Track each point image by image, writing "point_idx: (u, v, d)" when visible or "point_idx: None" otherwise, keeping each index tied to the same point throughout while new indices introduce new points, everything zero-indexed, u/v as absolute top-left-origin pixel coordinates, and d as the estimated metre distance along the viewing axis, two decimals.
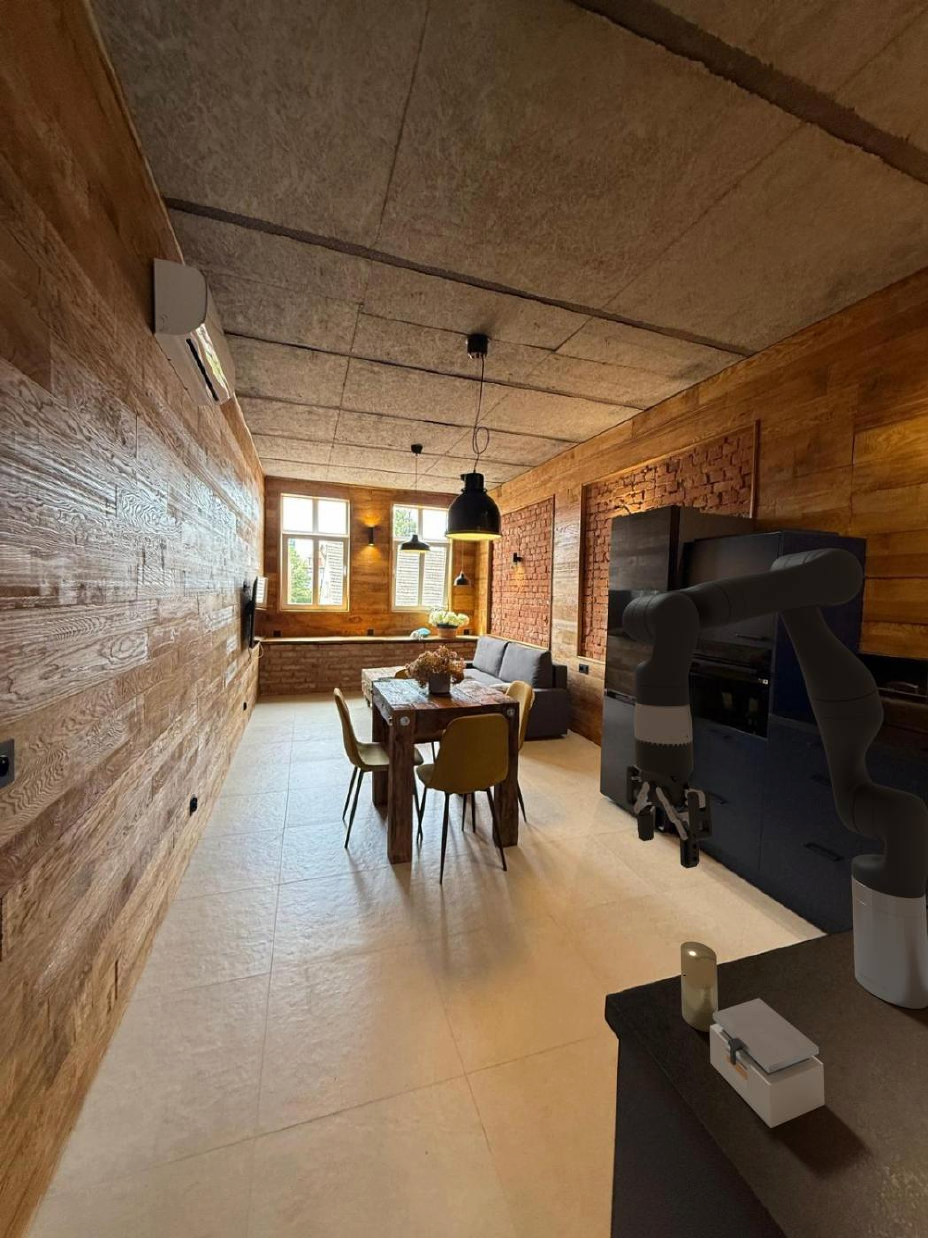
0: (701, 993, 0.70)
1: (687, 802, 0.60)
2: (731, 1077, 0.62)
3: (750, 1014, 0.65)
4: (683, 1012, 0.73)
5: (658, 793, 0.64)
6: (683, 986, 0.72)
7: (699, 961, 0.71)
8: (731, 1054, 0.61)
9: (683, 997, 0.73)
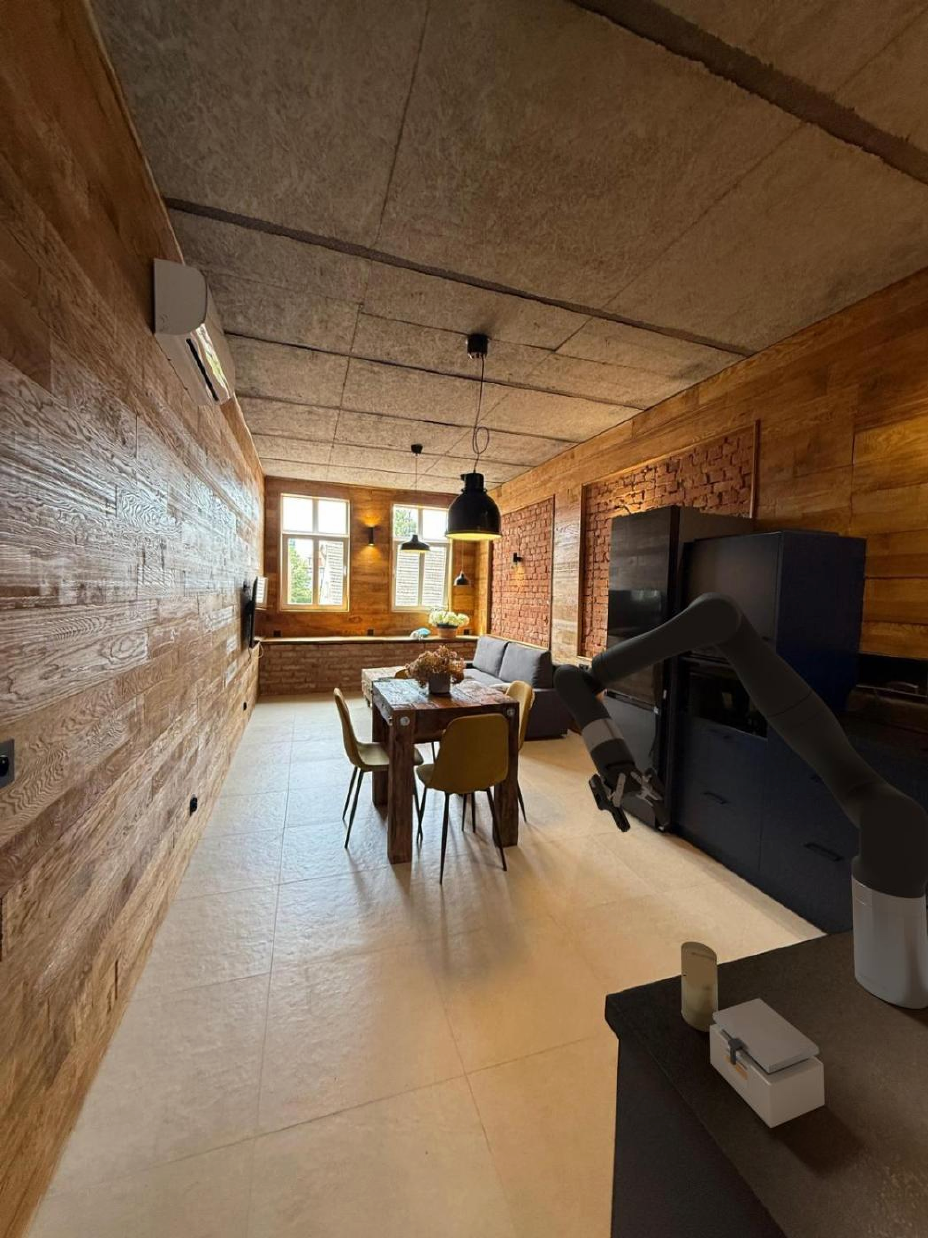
0: (701, 993, 0.70)
1: None
2: (731, 1077, 0.62)
3: (750, 1014, 0.65)
4: (683, 1012, 0.73)
5: None
6: (683, 986, 0.72)
7: (699, 961, 0.71)
8: (731, 1054, 0.61)
9: (683, 997, 0.73)
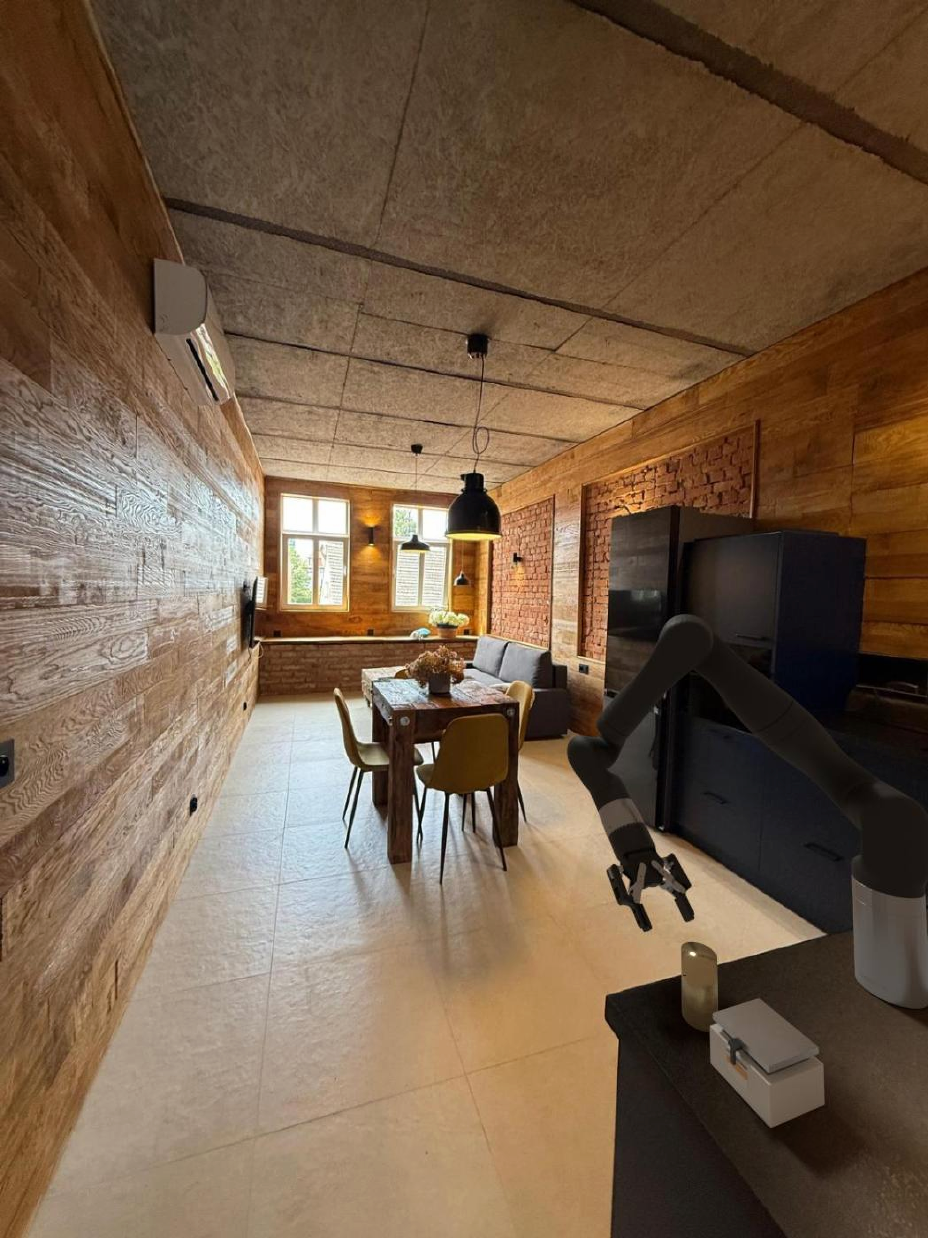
0: (702, 993, 0.70)
1: None
2: (731, 1077, 0.62)
3: (750, 1014, 0.65)
4: (683, 1012, 0.73)
5: None
6: (683, 986, 0.72)
7: (700, 962, 0.71)
8: (731, 1054, 0.61)
9: (683, 997, 0.72)
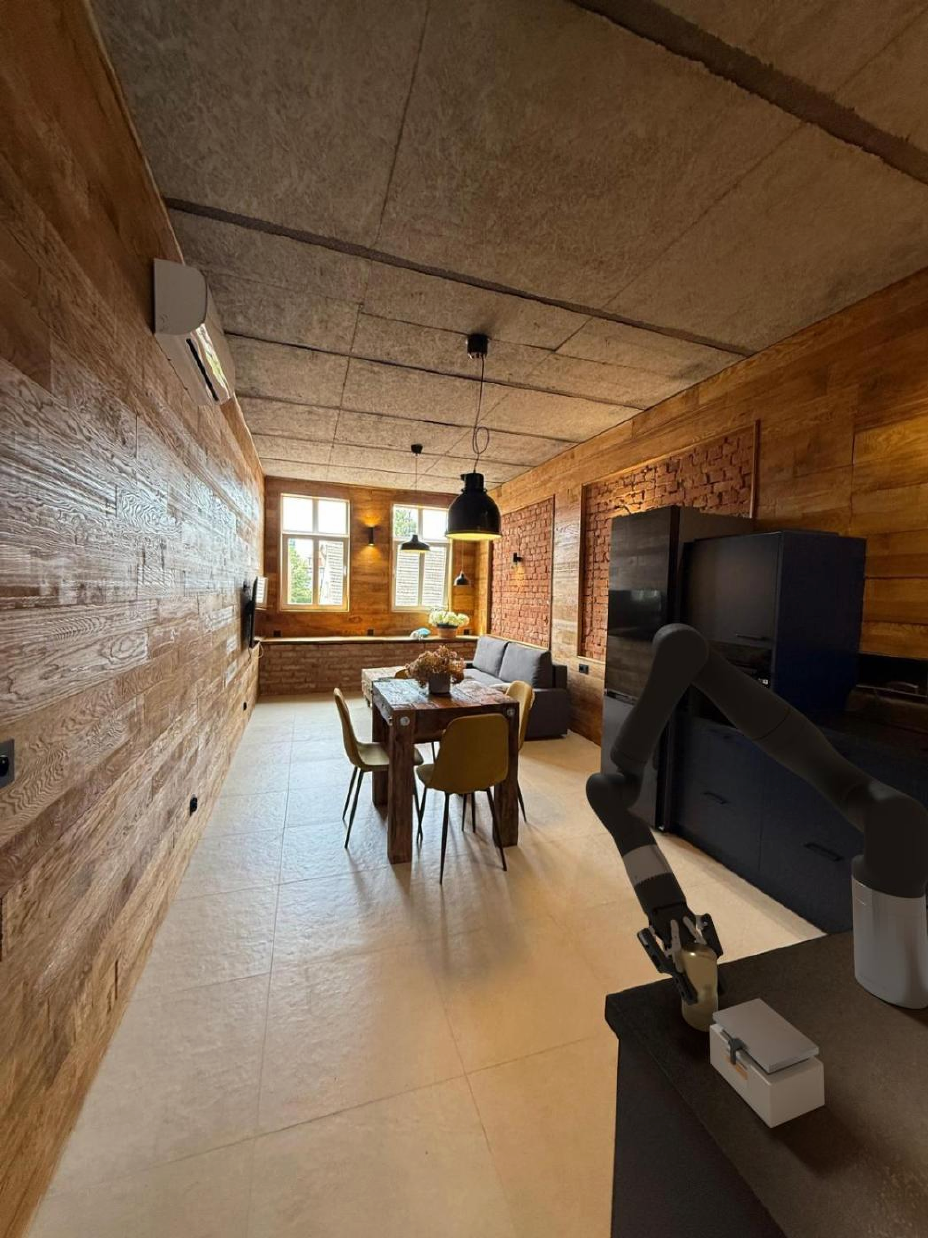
0: (702, 993, 0.70)
1: None
2: (731, 1077, 0.62)
3: (750, 1014, 0.65)
4: (683, 1012, 0.73)
5: None
6: None
7: (700, 962, 0.71)
8: (731, 1054, 0.61)
9: None
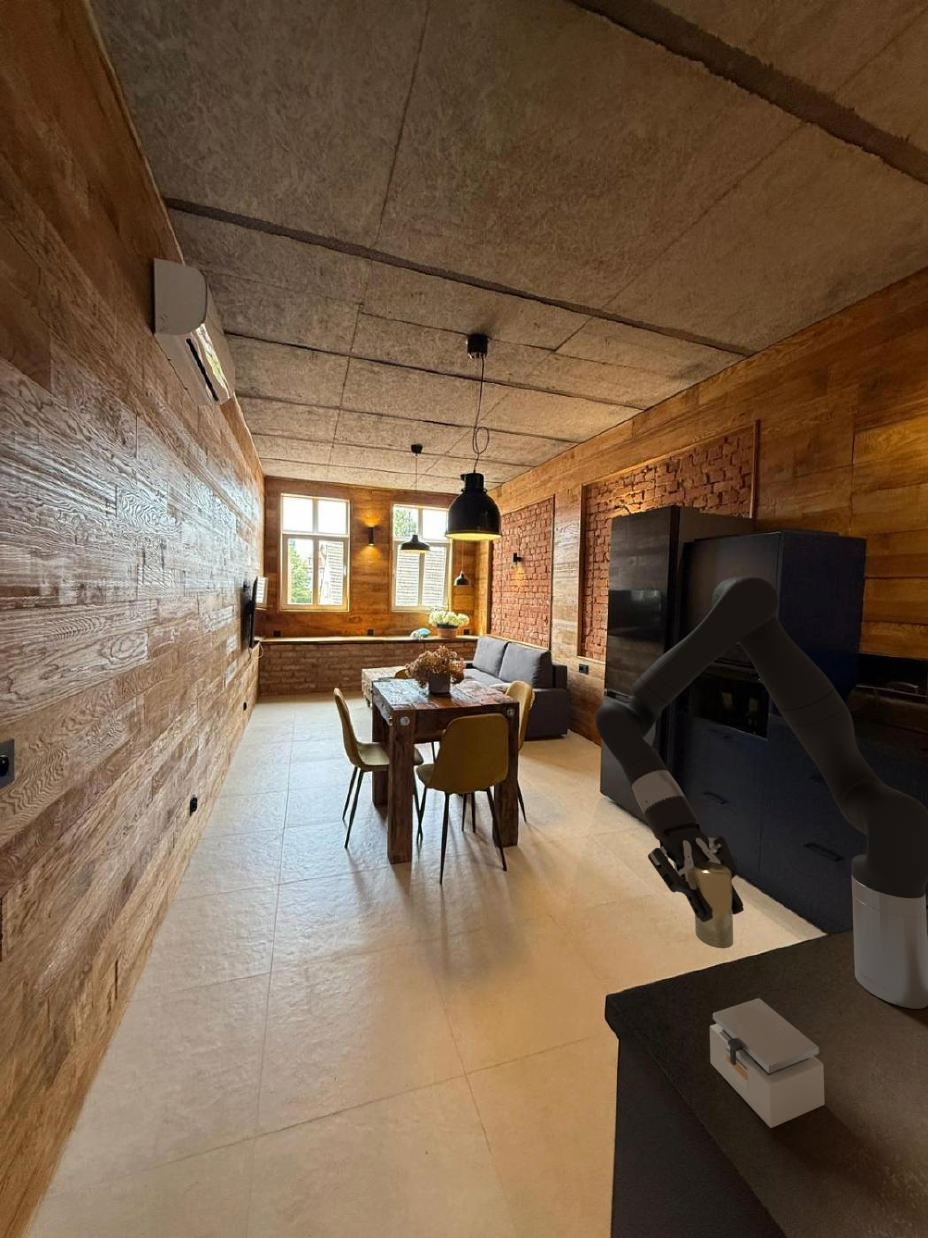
0: (716, 909, 0.68)
1: None
2: (731, 1077, 0.62)
3: (750, 1014, 0.65)
4: (697, 931, 0.70)
5: None
6: None
7: (714, 877, 0.68)
8: (731, 1054, 0.61)
9: None
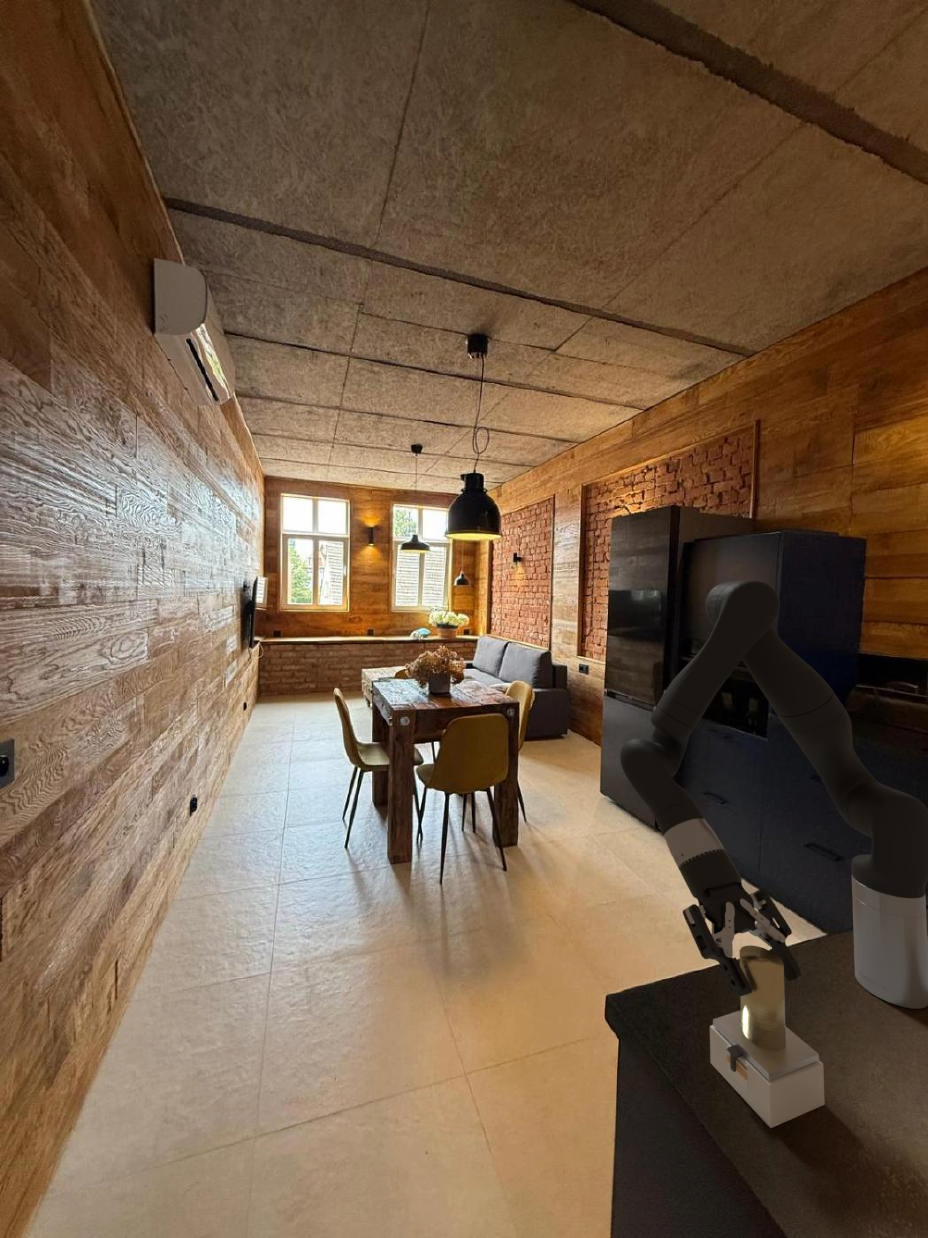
0: (768, 1006, 0.60)
1: None
2: (731, 1077, 0.62)
3: None
4: (744, 1028, 0.62)
5: None
6: (744, 998, 0.62)
7: (765, 969, 0.61)
8: (731, 1061, 0.61)
9: (744, 1011, 0.62)
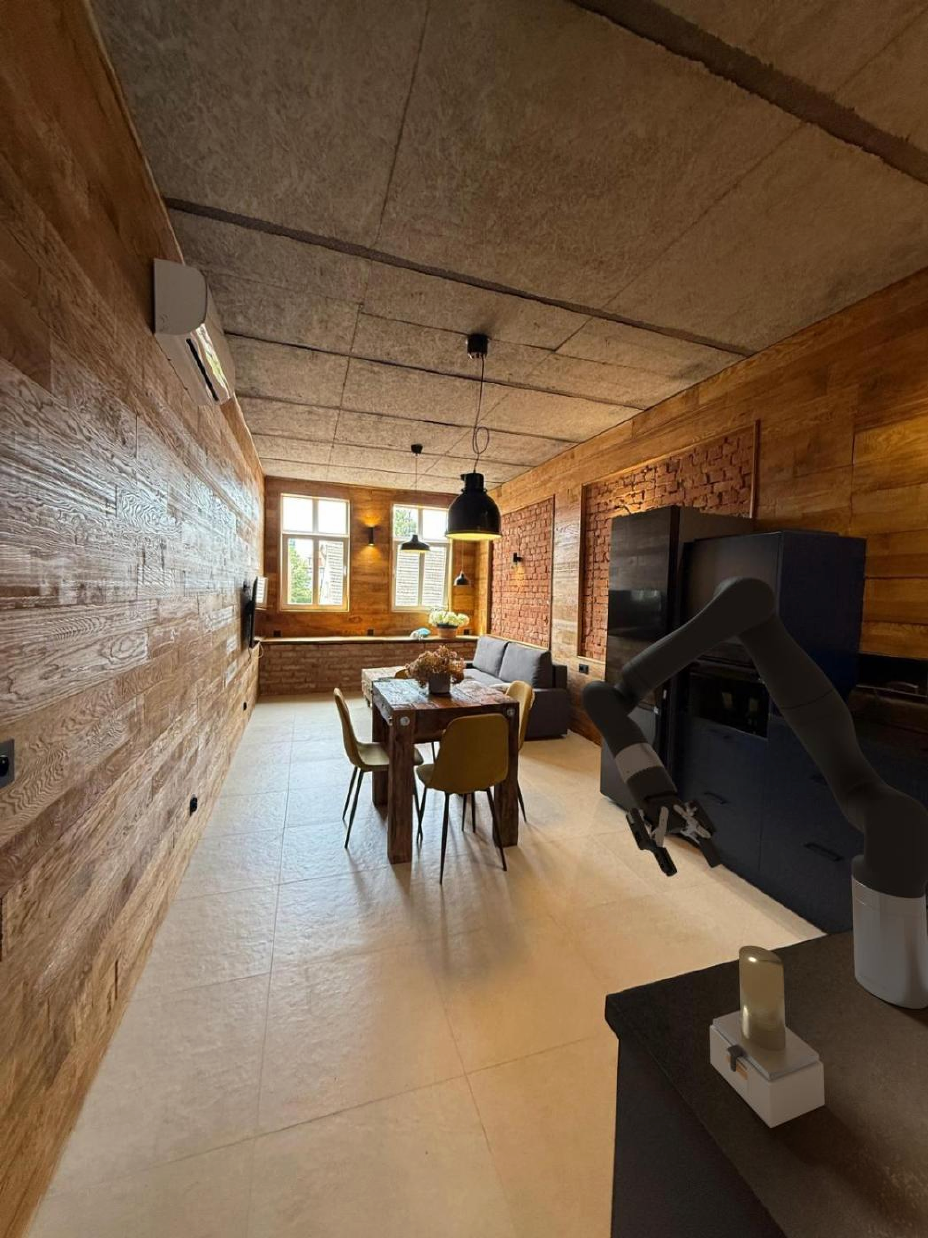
0: (768, 1007, 0.60)
1: None
2: (731, 1077, 0.62)
3: None
4: (744, 1028, 0.62)
5: None
6: (744, 999, 0.62)
7: (764, 970, 0.61)
8: (731, 1061, 0.61)
9: (744, 1011, 0.62)
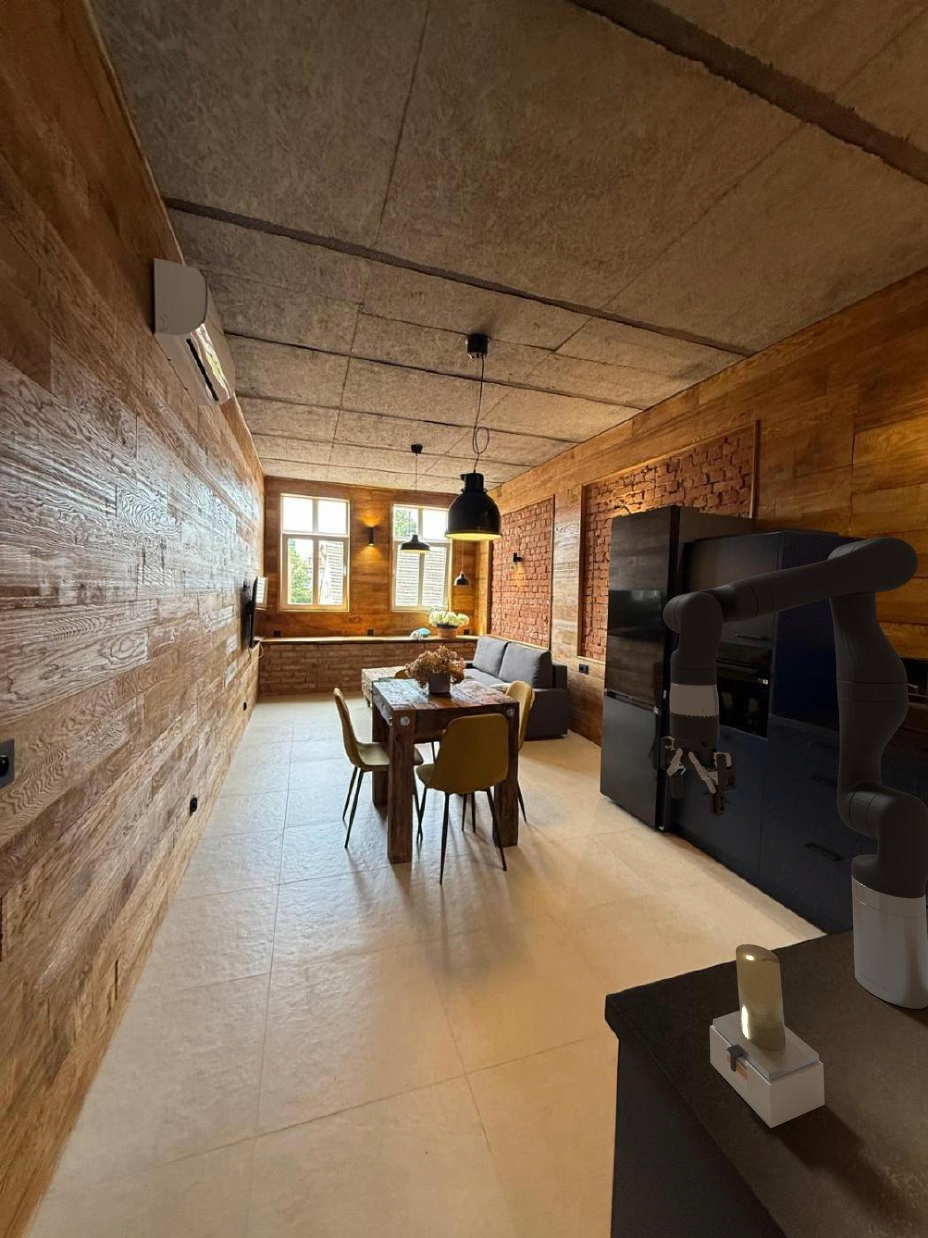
0: (767, 1004, 0.60)
1: (716, 762, 0.74)
2: (731, 1077, 0.62)
3: None
4: (744, 1029, 0.62)
5: (690, 757, 0.78)
6: (743, 998, 0.62)
7: (762, 967, 0.61)
8: (731, 1061, 0.61)
9: (744, 1011, 0.62)
